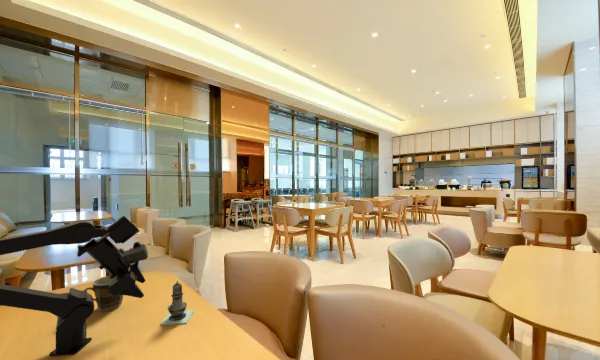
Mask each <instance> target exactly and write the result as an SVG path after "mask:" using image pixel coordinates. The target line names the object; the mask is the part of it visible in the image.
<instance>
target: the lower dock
mask: <svg viewBox="0 0 600 360" xmlns="http://www.w3.org/2000/svg"><path fill="white" fill-rule="evenodd" d="M194 312H195V310H194V309H191V310H190V309H189V310H188V309H187V310H185V311H184V312H183V313H186V317H185V318H183V319H181V320H178V321H170V320H169V317H170V316H171V314H170V313H169V312H168V314H167V315H166V316H165V318H164V319H163V320H162V322H161V323H160V326H165V325H166V326H169V325H186V324H188V322H189V321H190V319H191V317H192V316H193V314H194Z"/></svg>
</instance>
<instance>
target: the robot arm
mask: <svg viewBox="0 0 600 360" xmlns="http://www.w3.org/2000/svg"><path fill="white" fill-rule="evenodd" d="M139 232H141V231H140V229H139V228H138V227H137V226H136V225H135V224H134V223H132V222H131V221H130V220H129V219H128V218H127V217H126V216H125V215H122V216H121V217H119V218H118V219H117V220H116V221H114V222H113V223H111V224H110V225H108V226H104V225H97V224H93V222H91V221H89V220H87V219H80V220H77V221H73V222H70V223H67V224H64V225H61V226H57V227H56V228H52V229H48V230H42V231H36V232H30V233H25V234H24V233H23V234H19V235H14V236H8V237H7V236H6V237H2V238H0V256H3V255H8V254H13V253H19V252H23V251H27V250H28V251H29V250H32V249H38V248H43V247H48V246H53V245H76V244H78V245H77V252H76V256H77V257H78V258H80V257H81V256H82V255H84V254H86V253H87V254H88V255H89V256H90V257H91V258H92V259H93V261H94V260H95V262H96V263H98V264H99V266H98V268H99V269H100V270H103V269H104V270H106V272H108V273H109V275H108V276H109V277H110V278H111V279H113V278H114V277H116V276H117V277H116V278H115V279H114V280H112V281H111V283H110V286H109V290H108V292H109V293H110V294H111V295H112V296H115V295H123V296H127V297H131V298H133V297H134V298H136V299H137V298H139V299H142V298H144V296H145V294H144V292H143V291H142V289H141V288H140V287H139V286H138V284H137V283H136V282H139V283H141V284H143V283H146V278H145V276H144V274H143V273H142V270H141V269H140V267H139V262H140V261H144V260H147V259H148V258H149V252H148V250H147V245H146V244H145V243H141V242H140V241H135V242H133V244H132V247H130V248H129V249H127V250H125V249H123V248H118V247H117V246H115V244H116V245H117V244H125V243H126V242H127V241H129V240H130V239H132V238H133V237H134V236H136V235H137V234H138V233H139ZM108 237H109V238H110V239H111V240H109V238H108ZM112 241H113V242H114V243H113V242H112ZM93 299H94V297H93V295H92V294H91V293H89V292H88V290H85V289H84V290H81V289H76V288H74V287H70V288H69V291H68V292H65V293H64V292H63V293H55V292H50V291H45V290H44V291H43V290H39V289H38V290H37V289H32V288H26V287H21V286H20V287H19V286H16V285H10V284H9V285H8V284H3V283H0V306H2V307H10V308H16V309H23V310H24V309H25V310H32V311H39V312H46V313H50V314H52V315H54V316H55V317H57V320H56V324H55V326H56V327H55V330H56V331H55V348H54V349H53V350H52V351H50V352H49V356H65V355H66V356H67V355H75V354H77V353H78V352H80V351H81V349H83V348H84V347H85V346H86V345H88V344H89V343H90V342H91V341H92V338H93V337H87V319H89V318H90V317H91V316H92V314H94V311H95V300H93Z"/></svg>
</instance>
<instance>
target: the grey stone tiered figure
mask: <svg viewBox="0 0 600 360" xmlns="http://www.w3.org/2000/svg"><path fill="white" fill-rule="evenodd" d="M183 295H184V292H183V285H182V283H179V281H178V280H177V281H175V283H174V284H173V285H172V294H171V298H172V299H171V300H172V301H171V302H172V303H171V304H170V305H168V307H167V310H168V314H169V313H170V314H171V316H170V317H169V320H170V321H178V320H181V319H183V318H185V317H186V313H183V312H184V311H186V309H187V307H188V303H187V302H186V301H184V300H183Z"/></svg>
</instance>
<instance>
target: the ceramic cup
mask: <svg viewBox="0 0 600 360" xmlns="http://www.w3.org/2000/svg"><path fill="white" fill-rule="evenodd" d="M109 276H110V275H107V276H104V277H100V278H98V279H95V280H93V281H92V286H91V287H90V286H89V287H86V288H85V289H84V290H87V291H88V290H91V291H92V292H93V293H94V296H95V298H93V300H94V302H95V303H96V306H97V309H98V311H99V312H110V311H113V310H116V309H118V308H120V306H122V304H123V299H124V295H115V296H112V295H111V294H110V293H109V292H108V290H109V286H110V283H111V281H112V280H114V279H115V278H116V277H117V276H116V277H114V278H113V279H111V278H110V277H109Z"/></svg>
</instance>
